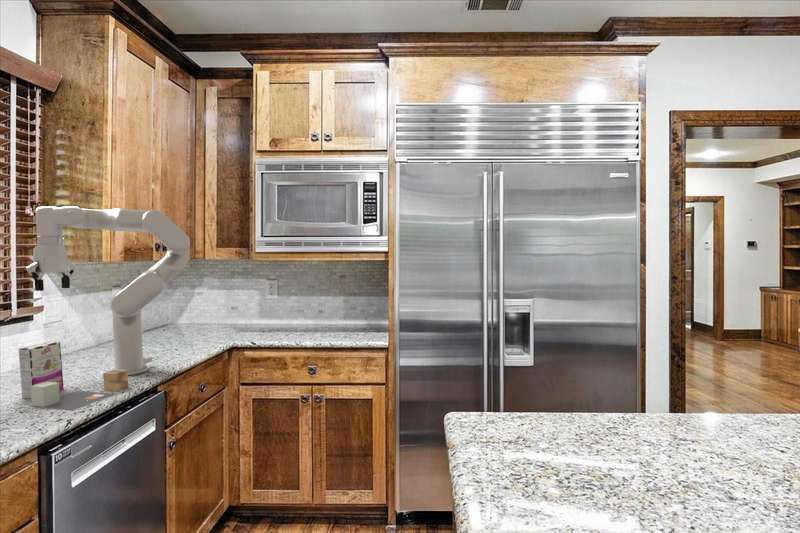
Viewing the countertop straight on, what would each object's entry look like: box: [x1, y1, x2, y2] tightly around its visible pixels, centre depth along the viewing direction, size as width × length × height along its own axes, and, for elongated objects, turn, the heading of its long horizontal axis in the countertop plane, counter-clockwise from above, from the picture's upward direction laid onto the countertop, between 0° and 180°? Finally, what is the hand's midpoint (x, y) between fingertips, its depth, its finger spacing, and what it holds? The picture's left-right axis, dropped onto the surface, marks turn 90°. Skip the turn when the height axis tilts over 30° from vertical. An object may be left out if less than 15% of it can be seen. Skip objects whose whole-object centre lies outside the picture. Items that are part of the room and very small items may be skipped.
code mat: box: [30, 390, 118, 411], centre depth 154 cm, size 16×17×1 cm
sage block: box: [30, 382, 61, 408], centre depth 150 cm, size 5×5×6 cm
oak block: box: [102, 369, 129, 392], centre depth 165 cm, size 5×5×6 cm
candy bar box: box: [18, 341, 64, 399], centre depth 161 cm, size 11×5×16 cm, turn 168°
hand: (53, 289), depth 175 cm, fingers open, 9 cm apart
